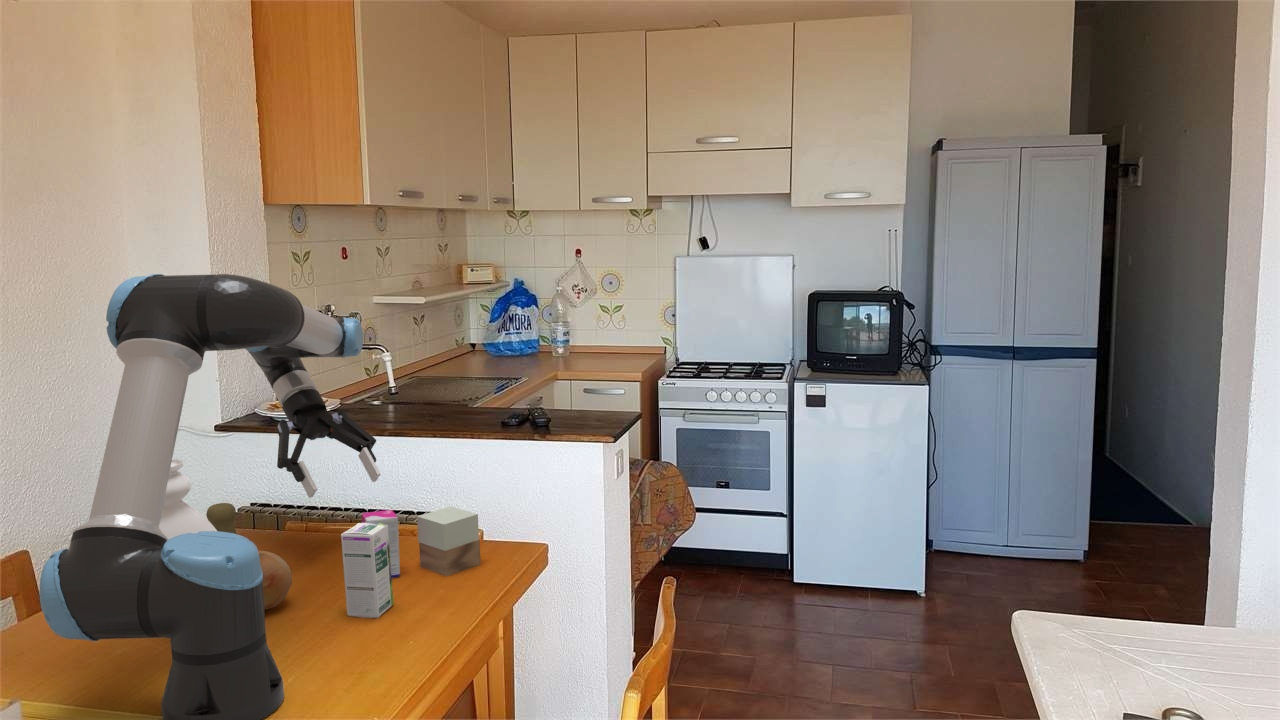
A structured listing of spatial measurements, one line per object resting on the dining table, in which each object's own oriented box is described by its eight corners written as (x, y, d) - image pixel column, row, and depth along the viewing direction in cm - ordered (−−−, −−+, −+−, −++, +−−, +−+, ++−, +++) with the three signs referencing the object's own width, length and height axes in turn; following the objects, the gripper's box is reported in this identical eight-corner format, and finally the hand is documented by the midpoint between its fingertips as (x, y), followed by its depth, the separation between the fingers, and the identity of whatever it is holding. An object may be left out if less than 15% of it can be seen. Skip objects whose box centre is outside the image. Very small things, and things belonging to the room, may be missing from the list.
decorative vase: (229, 581, 176) (219, 447, 172) (224, 618, 159) (212, 471, 155) (120, 595, 170) (107, 457, 166) (102, 635, 153) (87, 483, 149)
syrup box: (378, 619, 158) (373, 534, 156) (345, 616, 159) (340, 532, 157) (394, 605, 164) (389, 523, 162) (362, 603, 165) (357, 521, 163)
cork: (207, 556, 189) (203, 502, 187) (240, 552, 191) (236, 498, 190) (208, 566, 183) (203, 510, 182) (242, 561, 186) (238, 506, 184)
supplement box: (401, 576, 177) (398, 516, 175) (368, 582, 174) (365, 521, 173) (395, 566, 182) (392, 508, 180) (363, 572, 180) (359, 512, 178)
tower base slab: (446, 577, 177) (445, 551, 176) (420, 567, 182) (419, 541, 181) (480, 565, 183) (479, 539, 182) (454, 556, 188) (453, 531, 187)
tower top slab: (445, 550, 176) (443, 524, 175) (418, 541, 181) (417, 516, 181) (478, 539, 182) (477, 514, 181) (452, 531, 187) (450, 506, 187)
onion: (306, 603, 165) (302, 547, 163) (256, 624, 156) (251, 566, 155) (270, 593, 170) (266, 538, 168) (219, 612, 162) (215, 555, 160)
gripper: (349, 401, 202) (394, 482, 195) (233, 420, 184) (278, 511, 176) (361, 378, 198) (408, 461, 190) (244, 396, 179) (291, 488, 172)
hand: (346, 485), depth 183 cm, fingers open, 13 cm apart
